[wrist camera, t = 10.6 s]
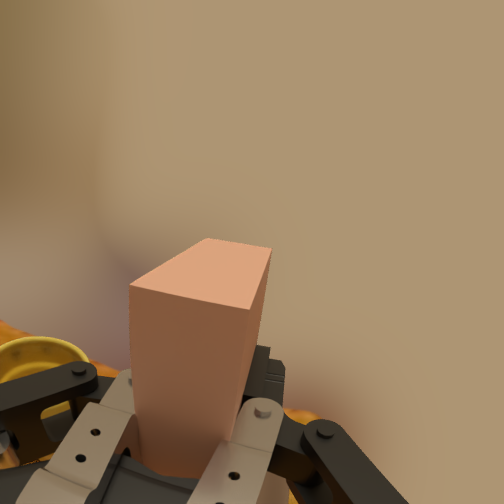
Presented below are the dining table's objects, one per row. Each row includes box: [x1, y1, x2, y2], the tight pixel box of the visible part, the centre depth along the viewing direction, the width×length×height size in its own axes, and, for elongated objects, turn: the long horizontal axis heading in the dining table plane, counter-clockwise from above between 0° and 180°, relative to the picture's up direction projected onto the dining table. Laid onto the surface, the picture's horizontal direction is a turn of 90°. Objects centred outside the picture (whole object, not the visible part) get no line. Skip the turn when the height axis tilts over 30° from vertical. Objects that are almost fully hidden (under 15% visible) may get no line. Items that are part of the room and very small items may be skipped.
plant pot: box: [0, 336, 90, 461], centre depth 20 cm, size 10×10×10 cm
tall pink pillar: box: [129, 238, 272, 479], centre depth 10 cm, size 2×6×12 cm, turn 172°
